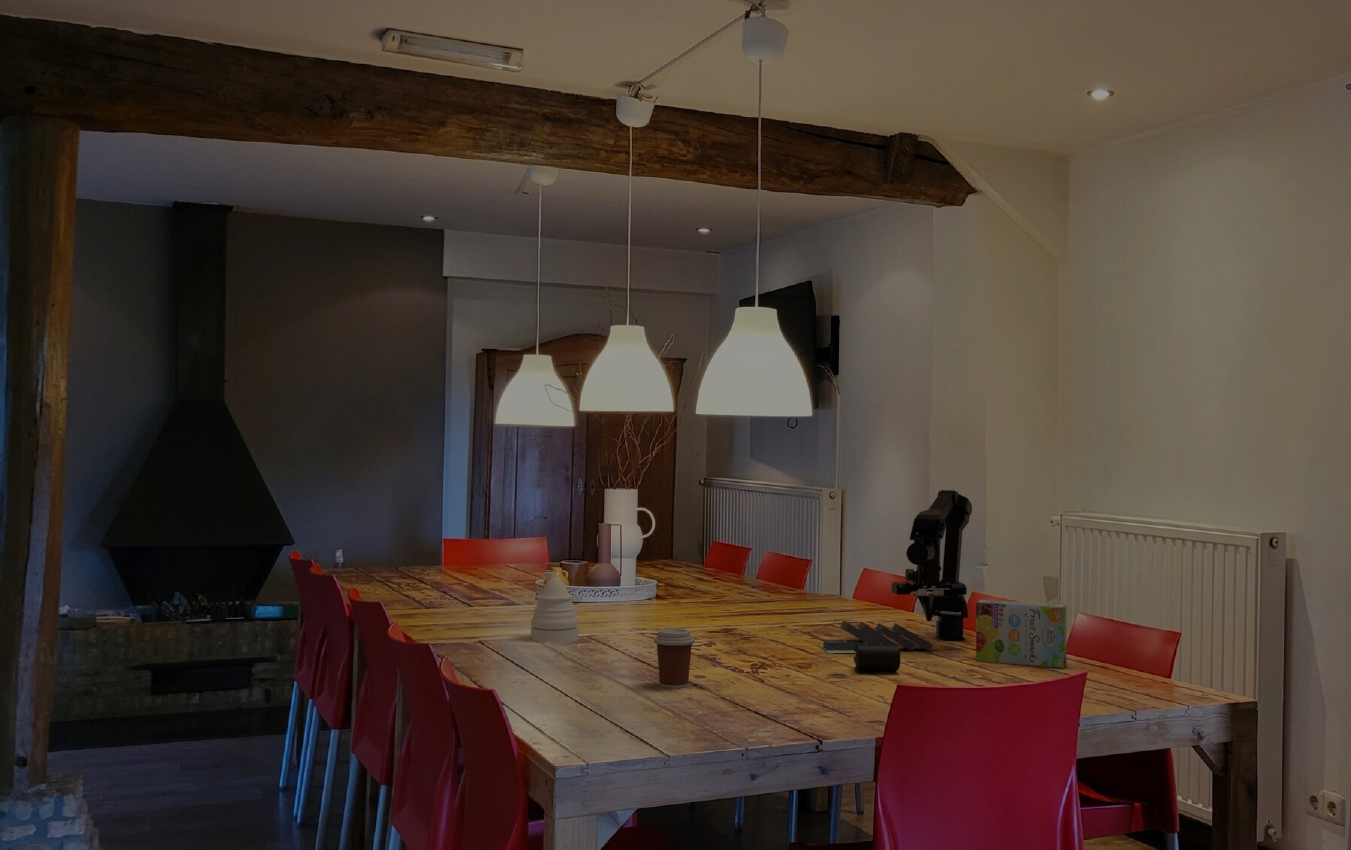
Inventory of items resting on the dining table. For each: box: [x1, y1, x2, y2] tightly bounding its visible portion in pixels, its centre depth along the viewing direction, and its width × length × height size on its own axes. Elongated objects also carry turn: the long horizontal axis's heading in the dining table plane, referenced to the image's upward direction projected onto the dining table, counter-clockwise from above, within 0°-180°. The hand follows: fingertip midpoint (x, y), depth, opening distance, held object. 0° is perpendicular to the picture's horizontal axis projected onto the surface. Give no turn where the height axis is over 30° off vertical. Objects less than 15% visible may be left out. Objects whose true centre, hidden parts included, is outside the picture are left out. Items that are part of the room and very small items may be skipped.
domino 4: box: [891, 622, 934, 652], centre depth 297 cm, size 2×5×10 cm
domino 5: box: [822, 638, 866, 651], centre depth 296 cm, size 2×5×10 cm
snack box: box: [975, 599, 1067, 669], centre depth 280 cm, size 21×6×15 cm, turn 65°
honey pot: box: [530, 571, 579, 644], centre depth 308 cm, size 13×13×18 cm
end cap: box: [853, 643, 901, 674], centre depth 267 cm, size 10×7×7 cm
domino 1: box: [840, 620, 881, 644], centre depth 296 cm, size 2×5×10 cm
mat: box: [818, 644, 856, 655], centre depth 296 cm, size 9×12×1 cm
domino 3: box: [874, 623, 917, 652], centre depth 297 cm, size 2×5×10 cm
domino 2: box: [856, 621, 896, 644], centre depth 297 cm, size 2×5×10 cm
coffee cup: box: [653, 627, 696, 689], centre depth 250 cm, size 9×9×12 cm
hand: (928, 621), depth 298 cm, fingers closed
